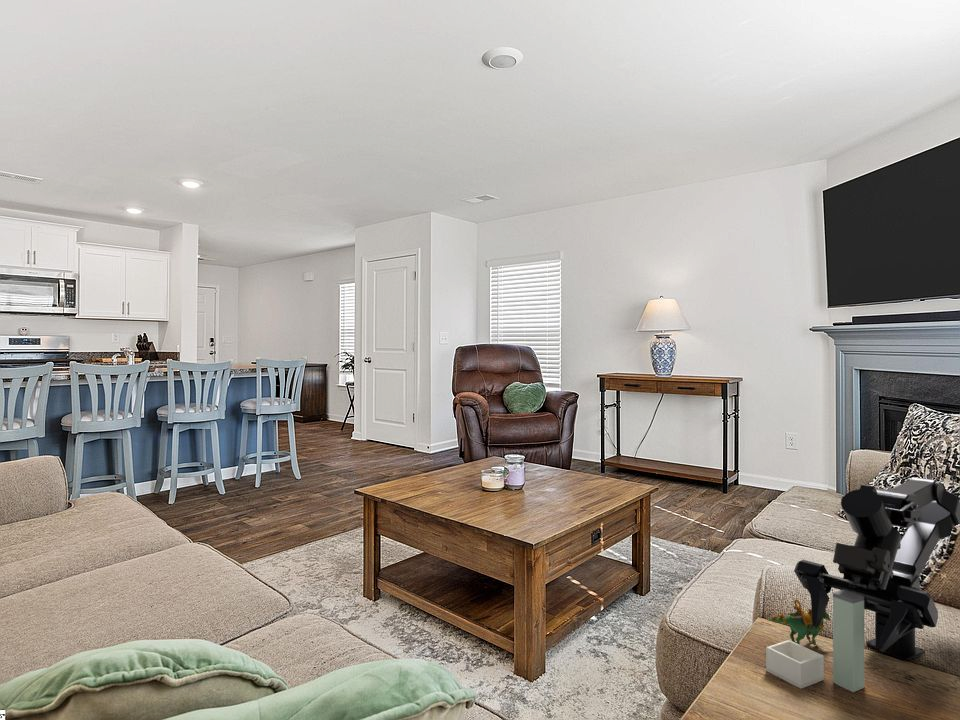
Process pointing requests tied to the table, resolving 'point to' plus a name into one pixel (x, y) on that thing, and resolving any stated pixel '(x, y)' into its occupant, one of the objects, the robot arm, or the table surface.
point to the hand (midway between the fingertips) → (846, 637)
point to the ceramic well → (795, 663)
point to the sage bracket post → (848, 640)
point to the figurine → (801, 623)
